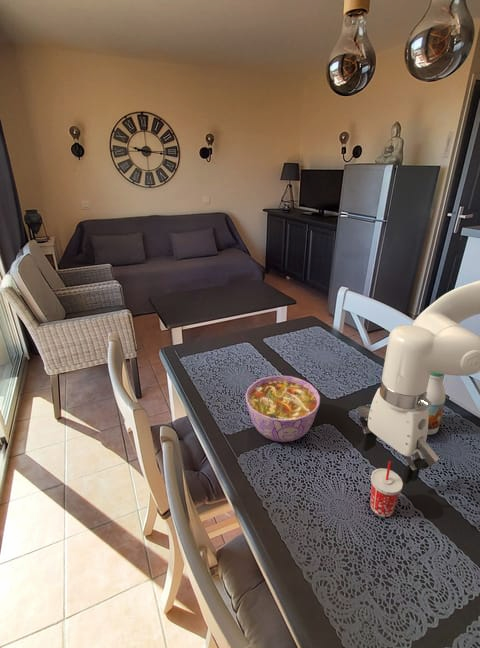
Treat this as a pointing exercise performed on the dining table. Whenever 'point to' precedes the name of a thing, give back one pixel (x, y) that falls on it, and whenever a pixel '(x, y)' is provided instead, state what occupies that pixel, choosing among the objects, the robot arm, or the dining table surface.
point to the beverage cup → (384, 491)
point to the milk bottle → (435, 401)
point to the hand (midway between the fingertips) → (388, 463)
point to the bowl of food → (282, 407)
